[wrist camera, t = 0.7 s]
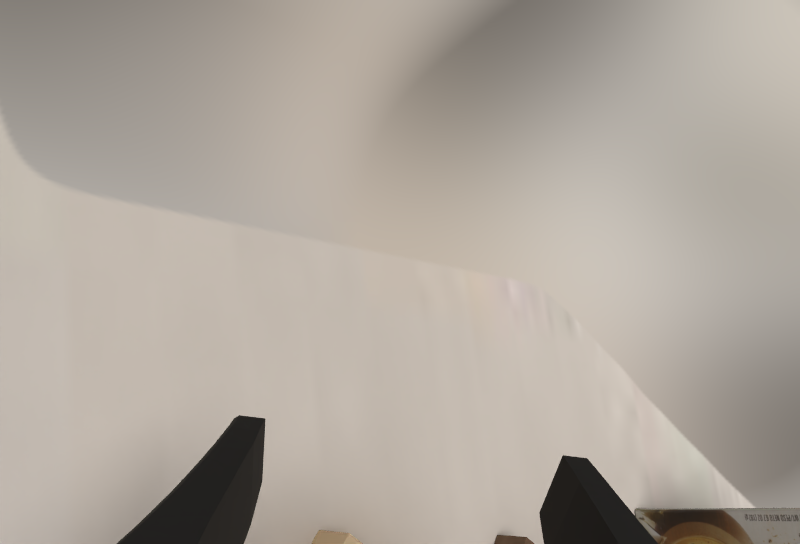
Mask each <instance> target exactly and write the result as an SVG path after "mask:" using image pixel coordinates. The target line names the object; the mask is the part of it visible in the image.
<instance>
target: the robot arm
mask: <svg viewBox="0 0 800 544" xmlns="http://www.w3.org/2000/svg"><path fill="white" fill-rule="evenodd" d="M264 434H265V419H264V418H256V417H248V416H240V415H239V416H238V417H236V418H234V420H233V421H232V422H231V424H230V425H229V426H228V428H227V429H226V430H225V431H224V433H223V434H222V435H221V436H220V438H219V439H218V440H217V441H216V443H215V444H214V445H213V446H212V447H211V449H210V450H209V451H208V452H207V453H206V454H205V456H204V457H203V458H202V459H201V460H200V461H199V462H198V464H197V465H196V466H195V467H194V468H193V469H192V470H191V471H190V472H189V473H188V474H187V476H186V477H185V478H184V479H183V480H182V481H181V482H180V483H179V484H178V485H177V486H176V487H175V488H174V489H173V491H172V492H171V493H170V494H169V495H168V496H167V497H166V498H165V499H163V500H162V501H161V502H160V503H159V504H158V505H157V506H156V507H155V508H154V509H153V510H152V511H151V512H150V513H149V514H148V515H147V516H146V517H145V518H144V519H143V520H142V521H141V522H140V523H139V524H138V525H137V526H136V527H135V528H134V529H132V530H131V531H130V532H129V533H128V534H127V535H126V536H125V537H124V538H123V539H121V540H120V541H119V542H118V543H117V544H244V541H245V539H246V536H247V533H248V530H249V528H250V525H251V521H252V518H253V514H254V510H255V507H256V503H257V499H258V495H259V491H260V487H261V483H262V474H263V454H264ZM540 520H541V526H542V533H543V540H544V544H658V543H657V542H656V540H655V539H654V538H653V537H652V536H651V535H650V533H649V532H648V531H647V530H646V529H645V528H644V526H643V525H642V524H641V523H640V522H639V520H638V519H637V518H636V517H635V516H634V515H633V513H632V512H631V511H630V510H629V508H628V507H627V506H626V505H625V504H624V502H623V501H622V500H621V499H620V498H619V496H618V495H617V494H616V493H615V491H614V490H613V489H612V488H611V487H610V485H609V484H608V483H607V482H606V480H605V479H604V478H603V477H602V476H601V474H600V473H599V472H598V471H597V469H596V468H595V467H594V466H593V465H592V464H591V462H590V461H589V460H588V459H587V458H579V457H571V456H562V459H561V461H560V464H559V466H558V469H557V471H556V474H555V476H554V478H553V481H552V483H551V486H550V488H549V491H548V493H547V496H546V498H545V501H544V503H543V505H542V508H541V510H540Z"/></svg>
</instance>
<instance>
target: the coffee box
mask: <svg viewBox="0 0 800 544" xmlns="http://www.w3.org/2000/svg"><path fill="white" fill-rule="evenodd" d="M635 515H636V518H637V519H638V520H639V522H640V523H641V524H642V525H643V526H644V528H645V529H646V530H647V531H648V532H649V533H650V535H651V536H652V537H653V538H654V539H655V540H656V542H657V543H658V544H800V508H738V509H735V508H726V509H646V508H637V509H636V510H635Z"/></svg>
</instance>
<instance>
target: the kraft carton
mask: <svg viewBox="0 0 800 544" xmlns="http://www.w3.org/2000/svg"><path fill="white" fill-rule="evenodd" d="M311 544H363V543H361V542H360V541H359V540H357V539H356V538H355V537H353V536H352V535H351V534H349V533H342V532H333V531H323V530H319V531H318V533H317V535H316V536H315V538H314V540H313V542H312V543H311Z"/></svg>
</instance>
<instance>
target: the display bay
mask: <svg viewBox="0 0 800 544" xmlns="http://www.w3.org/2000/svg"><path fill="white" fill-rule="evenodd" d="M495 544H534V543H533V542H532V541H531V540H529V539H528V538H527V537H517V536H503V535H497V538H496V541H495Z"/></svg>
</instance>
